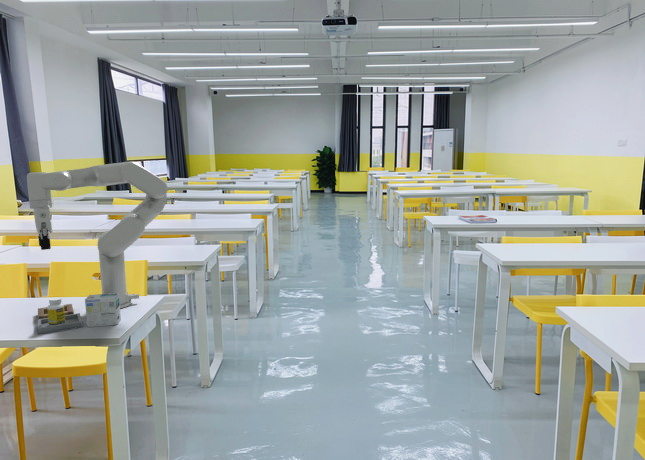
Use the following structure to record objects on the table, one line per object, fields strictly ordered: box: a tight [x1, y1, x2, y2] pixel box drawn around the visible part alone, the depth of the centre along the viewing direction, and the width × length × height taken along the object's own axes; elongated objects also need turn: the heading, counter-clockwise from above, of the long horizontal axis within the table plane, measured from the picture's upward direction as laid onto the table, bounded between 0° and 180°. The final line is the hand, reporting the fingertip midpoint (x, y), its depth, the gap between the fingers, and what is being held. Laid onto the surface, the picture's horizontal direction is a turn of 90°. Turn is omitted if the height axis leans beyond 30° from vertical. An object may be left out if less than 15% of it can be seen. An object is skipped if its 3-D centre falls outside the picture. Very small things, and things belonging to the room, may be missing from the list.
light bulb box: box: [84, 293, 122, 328], centre depth 179 cm, size 11×7×11 cm, turn 102°
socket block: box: [37, 303, 75, 320], centre depth 188 cm, size 12×12×2 cm
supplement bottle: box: [47, 296, 65, 326], centre depth 176 cm, size 5×5×10 cm
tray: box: [37, 312, 83, 335], centre depth 177 cm, size 14×12×2 cm
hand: (44, 247), depth 188 cm, fingers open, 9 cm apart
